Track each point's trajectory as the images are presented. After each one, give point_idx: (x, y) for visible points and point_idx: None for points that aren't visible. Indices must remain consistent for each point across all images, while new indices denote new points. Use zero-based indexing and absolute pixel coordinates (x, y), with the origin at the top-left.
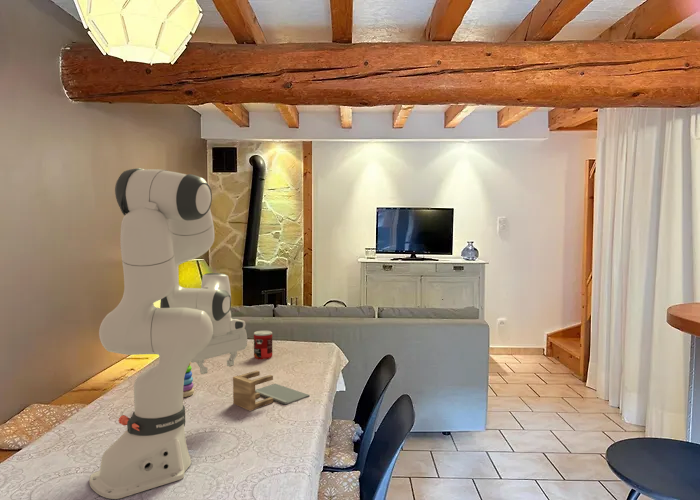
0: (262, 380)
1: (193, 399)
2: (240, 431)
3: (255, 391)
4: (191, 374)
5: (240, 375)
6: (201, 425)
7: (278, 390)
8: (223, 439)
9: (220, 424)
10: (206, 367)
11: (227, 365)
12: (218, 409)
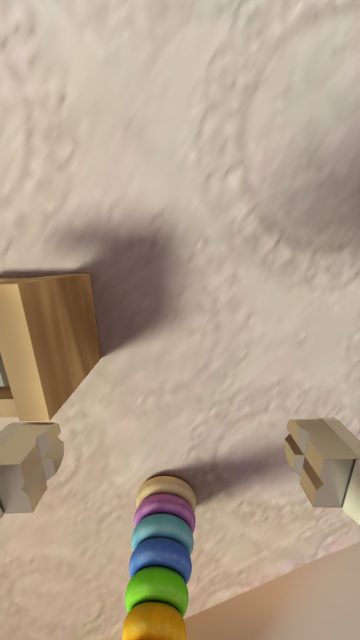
0: None
1: (164, 452)
2: (209, 142)
3: (3, 378)
4: (139, 552)
5: (10, 412)
6: (258, 288)
7: None
8: (288, 129)
9: (217, 251)
10: (325, 471)
11: (61, 453)
12: (155, 353)
